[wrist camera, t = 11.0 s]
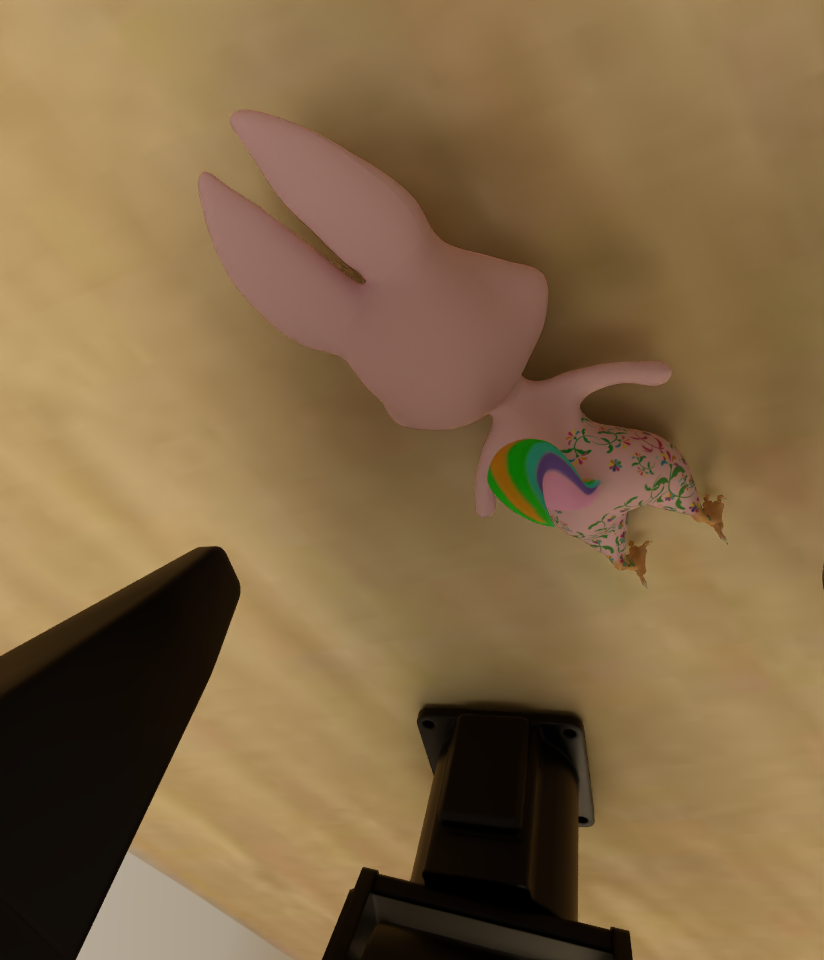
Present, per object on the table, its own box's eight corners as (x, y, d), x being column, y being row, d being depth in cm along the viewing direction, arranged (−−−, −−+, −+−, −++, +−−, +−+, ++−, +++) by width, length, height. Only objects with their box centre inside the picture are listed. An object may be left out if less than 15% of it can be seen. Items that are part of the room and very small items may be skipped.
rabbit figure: (756, 430, 17) (317, -4, 12) (856, 591, 12) (200, -14, 7) (582, 543, 20) (184, 240, 15) (607, 704, 15) (46, 340, 11)
